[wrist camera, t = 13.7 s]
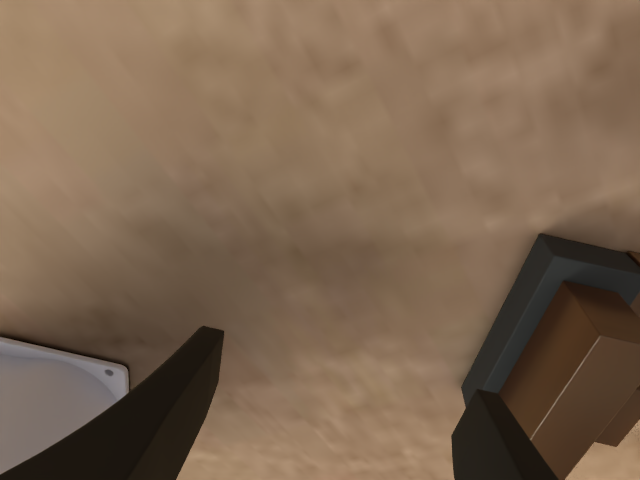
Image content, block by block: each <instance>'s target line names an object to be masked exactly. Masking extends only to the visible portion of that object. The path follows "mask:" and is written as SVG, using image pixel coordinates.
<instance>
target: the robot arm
mask: <svg viewBox="0 0 640 480" xmlns="http://www.w3.org/2000/svg"><path fill="white" fill-rule="evenodd" d="M223 338H224V331H223V330H219V329H214V328H210V327H206V326H202V327H200V328H199V329H198V330H197V331H196V332H195V333H194V334H193V335H192V336H191V337H190V338H189V339H188V340H187V341H186V342H185V343H184V344H183V345H182V346H181V347H180V348H179V349H178V350H177V351H176V352H175V353H174V354H173V355H172V356H171V357H170V358H169V359H167V360H166V361H165V362H164V363H163V364H162V365H161V366H160V367H158V368H157V369H156V370H155V371H154V372H153V373H152V374H151V375H149V376H148V377H147V378H146V379H145V380H144V381H142V382H141V383H140V384H139V385H137V386H136V387H135V388H134V389H132V390H131V391H130V392H129V378H128V369H127V368H126V367H125V366H123V365H121V364H116V363H112V362H108V361H103V360H99V359H95V358H90V357H86V356H82V355H77V354H73V353H68V352H64V351H60V350H55V349H51V348H47V347H42V346H38V345H34V344H29V343H25V342H20V341H16V340H12V339H7V338H3V337H0V480H176V479H177V476H178V474H179V472H180V470H181V468H182V466H183V464H184V462H185V460H186V458H187V456H188V454H189V451H190V449H191V447H192V445H193V443H194V441H195V439H196V437H197V435H198V433H199V431H200V428H201V426H202V424H203V422H204V420H205V418H206V415H207V413H208V410H209V407H210V404H211V402H212V399H213V396H214V393H215V390H216V387H217V384H218V380H219V372H220V363H221V355H222V346H223ZM452 457H453V470H454V478H455V480H559V479H558V478H557V476H556V475H555V474H554V472H553V471H552V470H551V468H550V467H549V466H548V464H547V463H546V461H545V460H544V459H543V457H542V456H541V454H540V453H539V452H538V450H537V449H536V447H535V446H534V445H533V443H532V442H531V440H530V439H529V437H528V436H527V434H526V433H525V432H524V430H523V429H522V427H521V426H520V424H519V423H518V421H517V420H516V418H515V417H514V415H513V414H512V413H511V411H510V410H509V408H508V407H507V405H506V404H505V402H504V401H503V400H502V398H501V397H500V395H499V394H498V393H494V392H489V391H485V390H481V389H476V391H475V393H474V394H473V396H472V398H471V400H470V402H469V404H468V406H467V408H466V409H465V411H464V413H463V415H462V417H461V419H460V421H459V423H458V424H457V426H456V428H455V430H454V432H453V434H452Z"/></svg>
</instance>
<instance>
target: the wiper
mask: <svg viewBox="0 0 640 480" xmlns="http://www.w3.org/2000/svg"><path fill="white" fill-rule="evenodd" d="M639 292H640V267H639V266H638V265H637V264H636V263H635V262H634V261H633V260H632V259H631V258H630V257H629V256H628V255H627V254H626V253H622V252H617V251H613V250H609V249H604V248H600V247H595V246H591V245H587V244H582V243H578V242H574V241H569V240H565V239H560V238H556V237H552V236H547V235H543V234H539V236H538V238H537V239H536V241H535V243H534V245H533V247H532V249H531V251H530V253H529V255H528V257H527V259H526V261H525V263H524V265H523V267H522V269H521V271H520V273H519V275H518V277H517V279H516V281H515V283H514V285H513V287H512V289H511V291H510V293H509V295H508V297H507V299H506V300H505V302H504V304H503V306H502V308H501V310H500V312H499V314H498V316H497V318H496V320H495V322H494V324H493V326H492V328H491V330H490V332H489V334H488V336H487V338H486V340H485V342H484V344H483V346H482V348H481V350H480V352H479V354H478V356H477V358H476V359H475V361H474V363H473V365H472V367H471V369H470V371H469V373H468V375H467V377H466V379H465V381H464V383H463V385H462V387H461V388H462V393H463V397H464V402H465V406H466V408H467V406H468V404H469V402H470V400H471V398H472V396H473V394H474V393H475V391H476V389H481V390H485V391H489V392H494V393H498V394H499V395H500V397H501V398H502V400H503V401H504V402H505V404H506V405H507V407H508V408H509V410H510V411H511V413H512V414H513V415H514V417H515V418H516V420H517V421H518V423H519V424H520V426H521V427H522V429H523V430H524V432H525V433H526V434H527V436H528V437H529V439H530V440H531V442H532V443H533V445H534V446H535V447H536V449H537V450H538V452H539V453H540V454H541V456H542V457H543V459H544V460H545V461H546V463H547V464H548V466H549V467H550V468H551V470H552V471H553V472H554V474H555V475H556V476H557V478H558V479H559V480H565V478H566V477H567V476H568V475H569V473H570V472H571V471H572V470H573V468H574V467H575V466H576V464H577V463H578V462H579V461H580V459H581V458H582V457H583V456H584V454H585V453H586V452H587V451H588V449H589V448H590V447H591V446H592V444H593V443H594V442H595V440H596V439H597V438H598V437H599V435H600V434H601V433H602V432H603V430H604V429H605V428H606V427H607V425H608V424H609V423H610V422H611V420H612V419H613V418H614V416H615V415H616V414H617V413H618V411H619V410H620V409H621V408H622V406H623V405H624V404H625V403H626V401H627V400H628V399H629V397H630V396H631V395H632V394H633V392H634V391H635V390H636V389H637V387H638V386H639V385H640V318H639V317H638V316H637V315H636V313H635V312H634V311H633V310H632V309H631V307H630V305H631V304H632V302H633V301H634V299H635V298H636V297H637V295H638V294H639Z"/></svg>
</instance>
